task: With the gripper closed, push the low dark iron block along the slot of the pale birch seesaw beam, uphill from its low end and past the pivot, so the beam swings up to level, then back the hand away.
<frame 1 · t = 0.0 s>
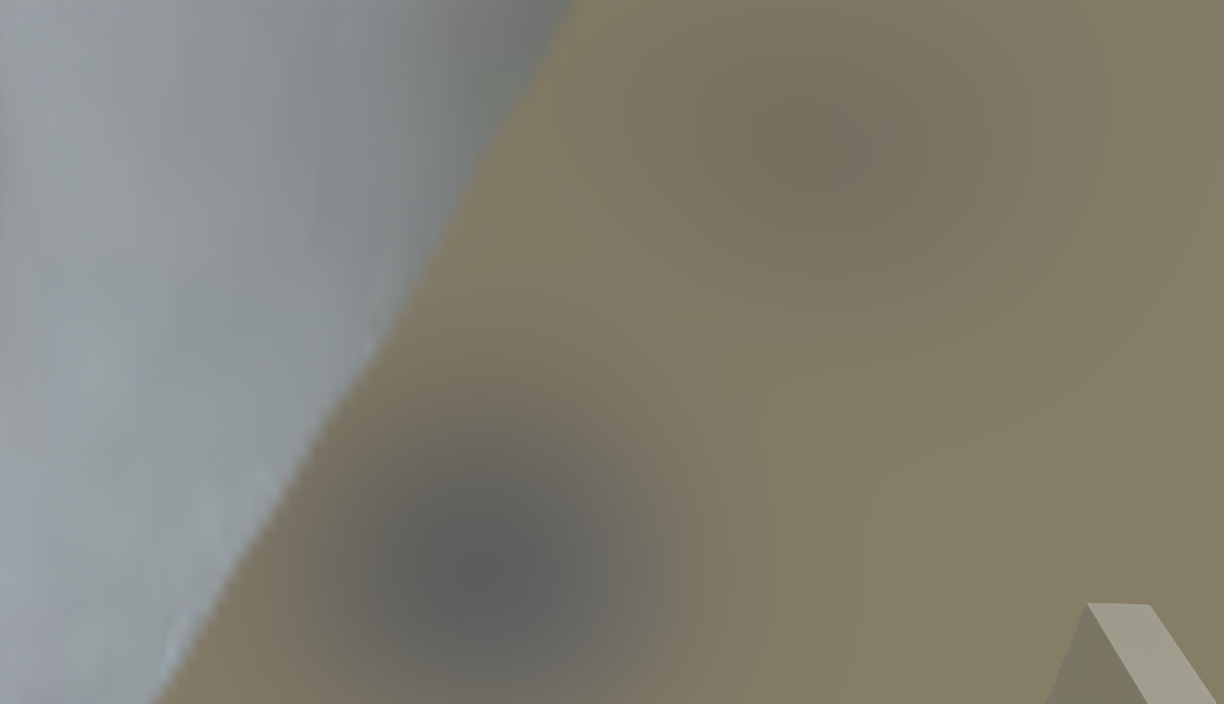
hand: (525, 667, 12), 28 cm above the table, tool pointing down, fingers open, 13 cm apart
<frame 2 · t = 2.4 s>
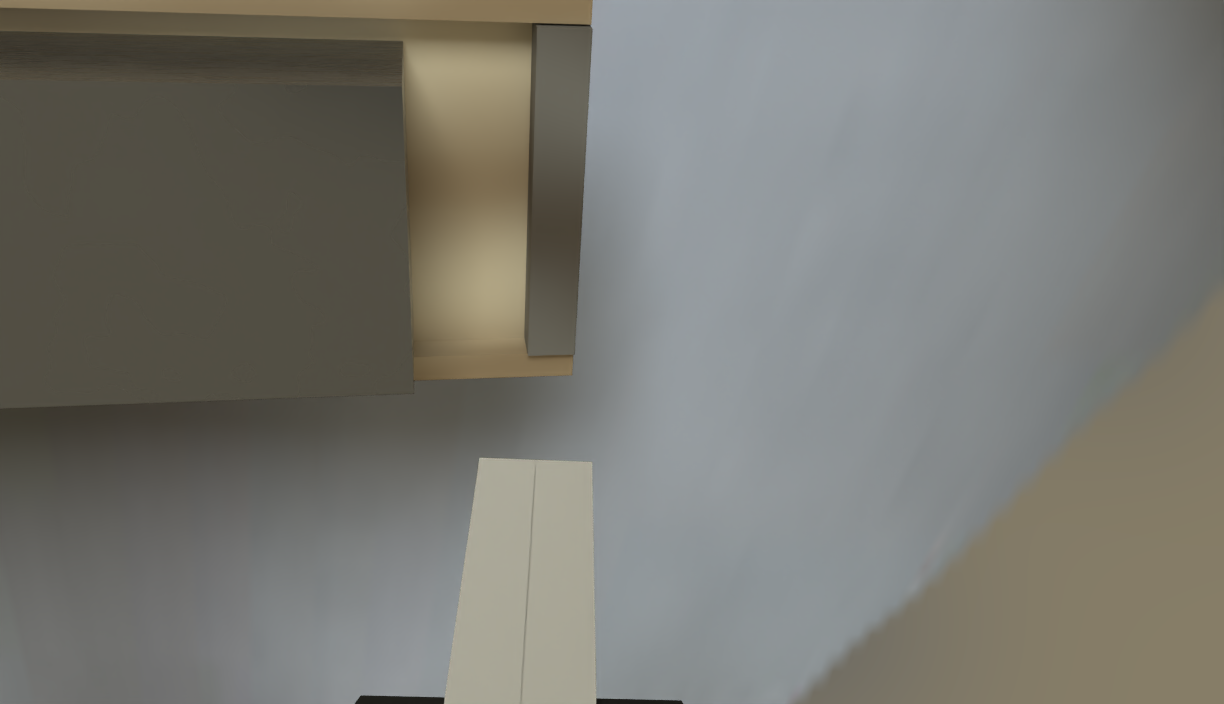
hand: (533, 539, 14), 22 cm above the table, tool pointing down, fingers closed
iron block: (186, 190, 23), point 11 cm above the table, tilted 8°, touching seesaw beam
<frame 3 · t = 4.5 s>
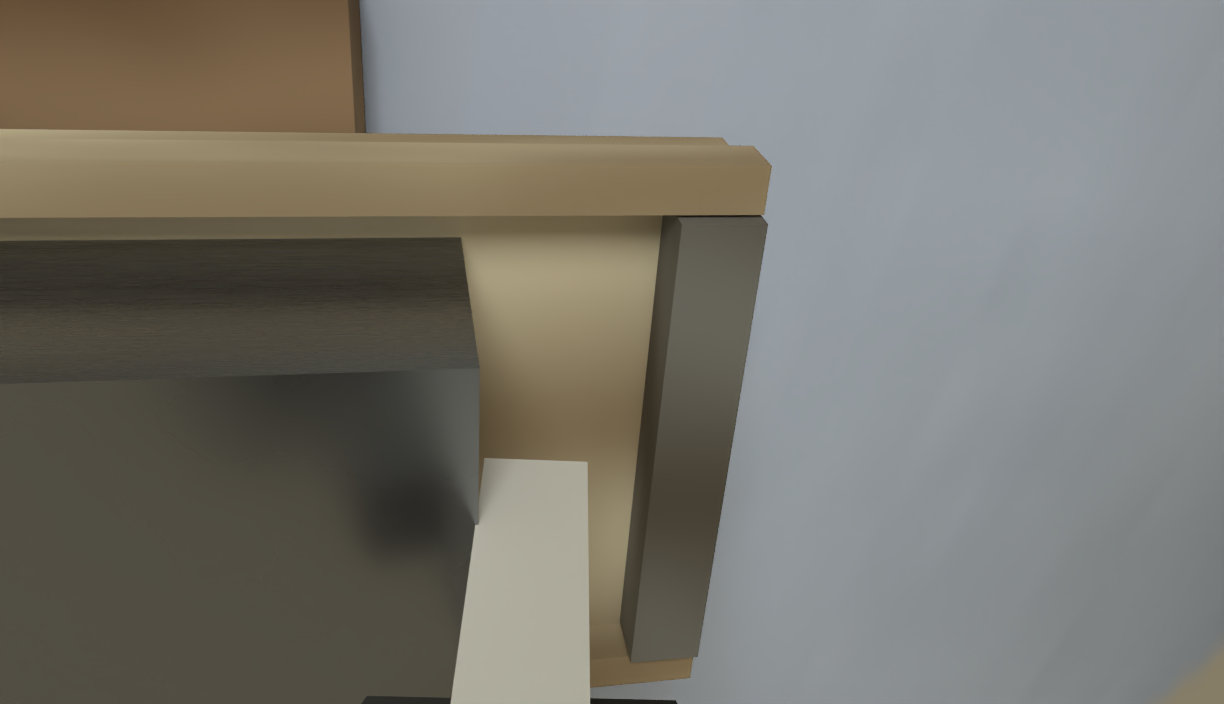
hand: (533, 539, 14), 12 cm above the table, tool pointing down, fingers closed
iron block: (115, 460, 15), point 11 cm above the table, tilted 8°, touching gripper, seesaw beam
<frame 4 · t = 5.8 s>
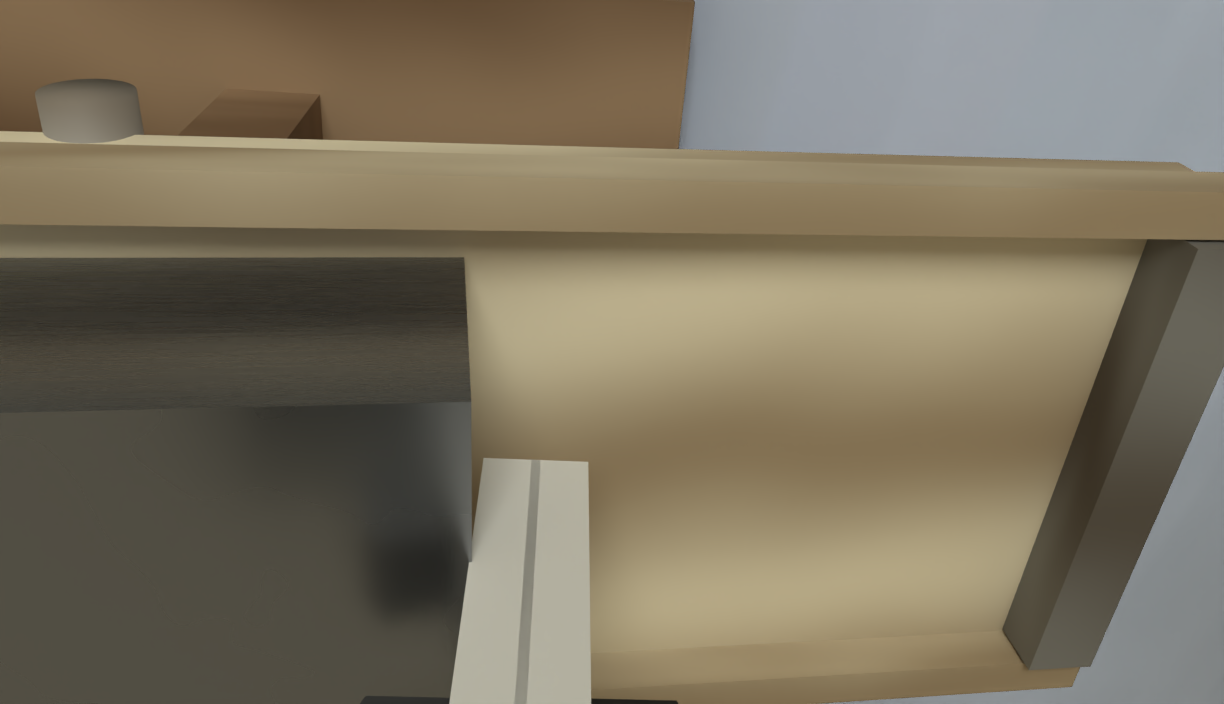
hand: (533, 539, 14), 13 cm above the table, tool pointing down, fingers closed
seesaw beam: (128, 447, 15), point 11 cm above the table, hinge at -6.0°
iron block: (111, 481, 14), point 12 cm above the table, tilted 6°, touching gripper
seesaw stand: (295, 180, 24), on the table
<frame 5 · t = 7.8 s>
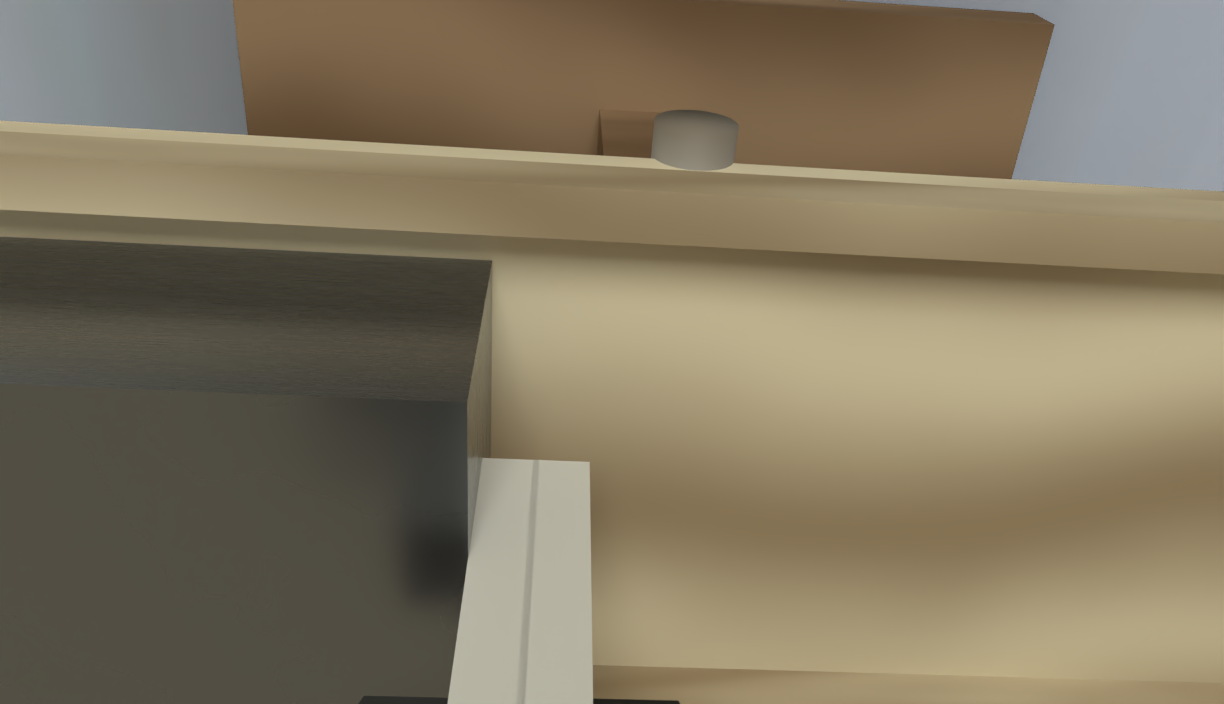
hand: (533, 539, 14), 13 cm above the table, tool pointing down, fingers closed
seesaw beam: (667, 451, 16), point 11 cm above the table, hinge at 0.5°, touching iron block
iron block: (153, 457, 15), point 12 cm above the table, touching gripper, seesaw beam
seesaw stand: (631, 194, 25), on the table
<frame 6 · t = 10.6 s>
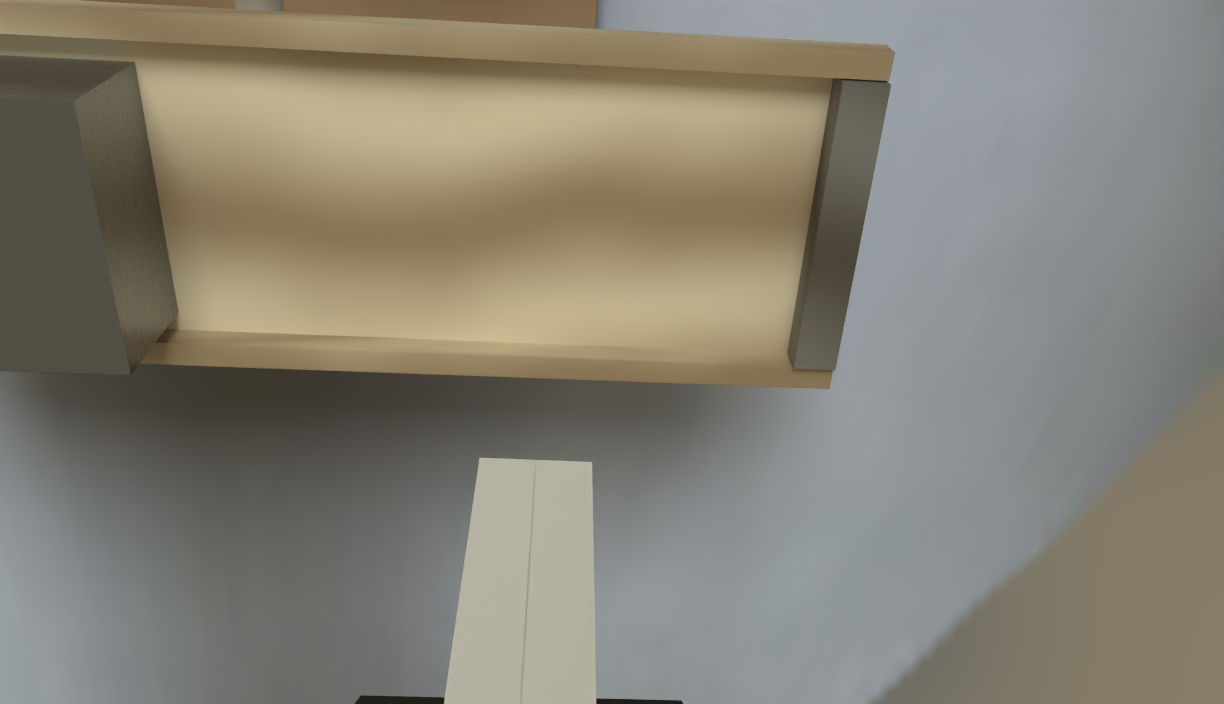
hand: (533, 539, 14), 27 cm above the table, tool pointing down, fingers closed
seesaw beam: (268, 189, 27), point 11 cm above the table, hinge at 0.5°, touching iron block
seesaw stand: (346, 82, 37), on the table
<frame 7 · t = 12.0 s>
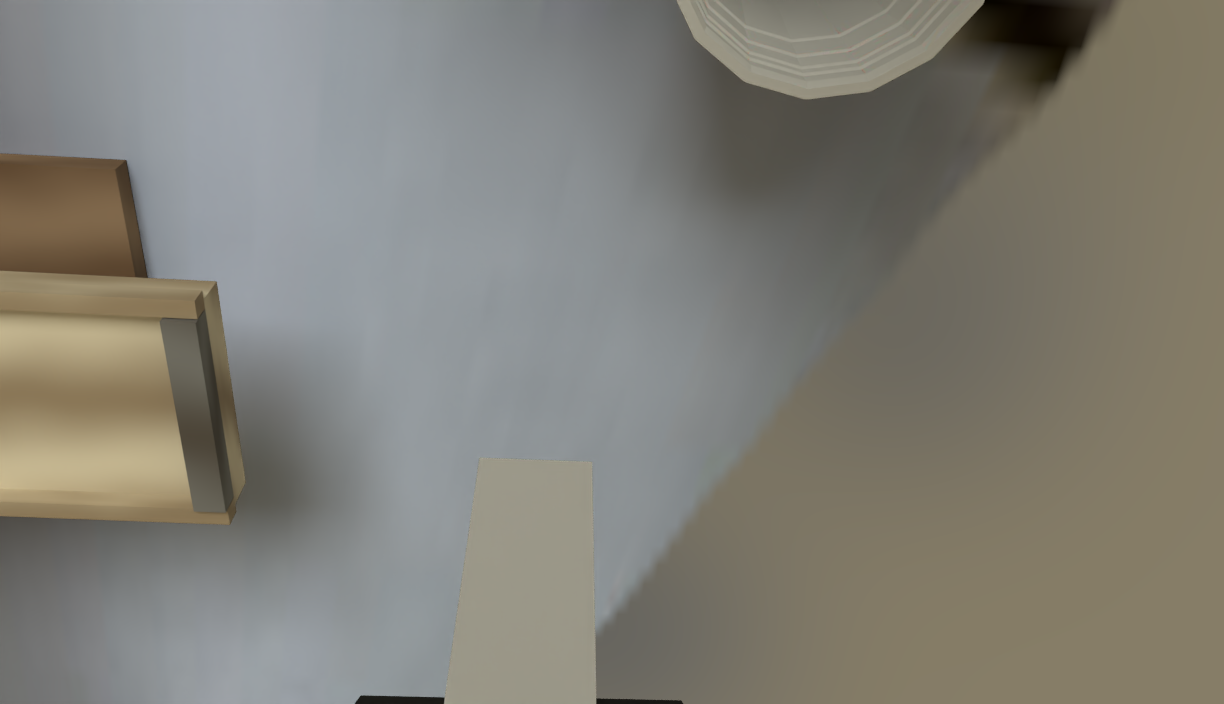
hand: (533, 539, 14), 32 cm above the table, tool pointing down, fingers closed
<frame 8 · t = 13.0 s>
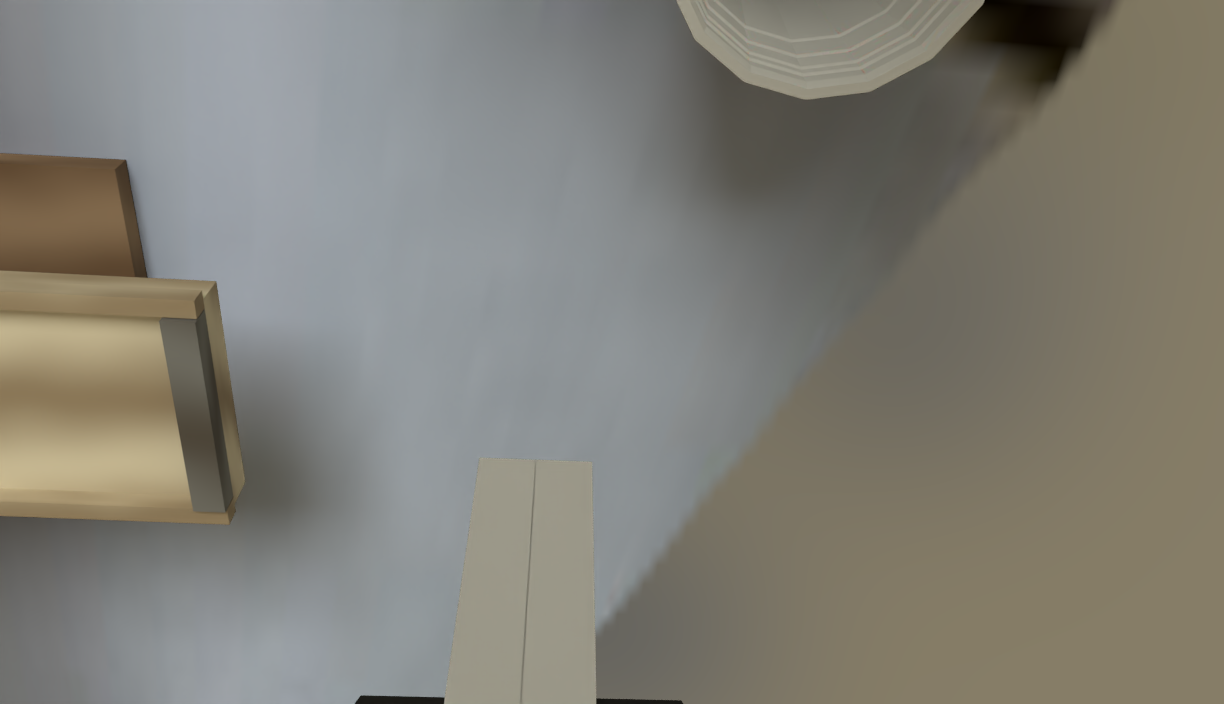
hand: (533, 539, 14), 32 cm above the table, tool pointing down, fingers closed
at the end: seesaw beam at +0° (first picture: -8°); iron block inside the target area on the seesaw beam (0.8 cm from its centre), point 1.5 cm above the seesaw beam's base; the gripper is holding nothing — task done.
